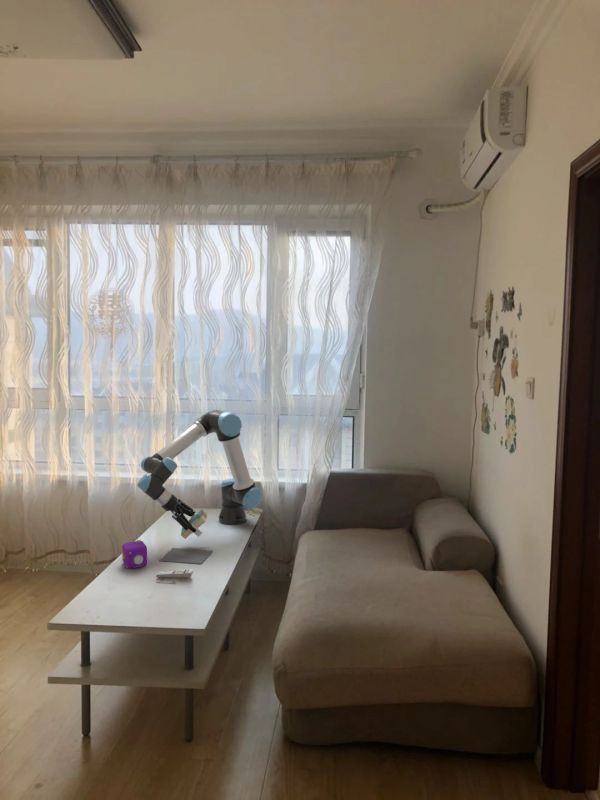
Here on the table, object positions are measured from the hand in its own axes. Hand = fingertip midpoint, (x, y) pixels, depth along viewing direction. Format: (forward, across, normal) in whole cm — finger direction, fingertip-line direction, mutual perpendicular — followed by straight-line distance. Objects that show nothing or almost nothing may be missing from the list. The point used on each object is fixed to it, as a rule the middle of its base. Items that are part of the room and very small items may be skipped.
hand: (201, 529), depth 280 cm
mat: (0, +15, -7) cm, 16 cm away
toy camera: (-16, +24, -21) cm, 36 cm away
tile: (-5, 0, -7) cm, 8 cm away
